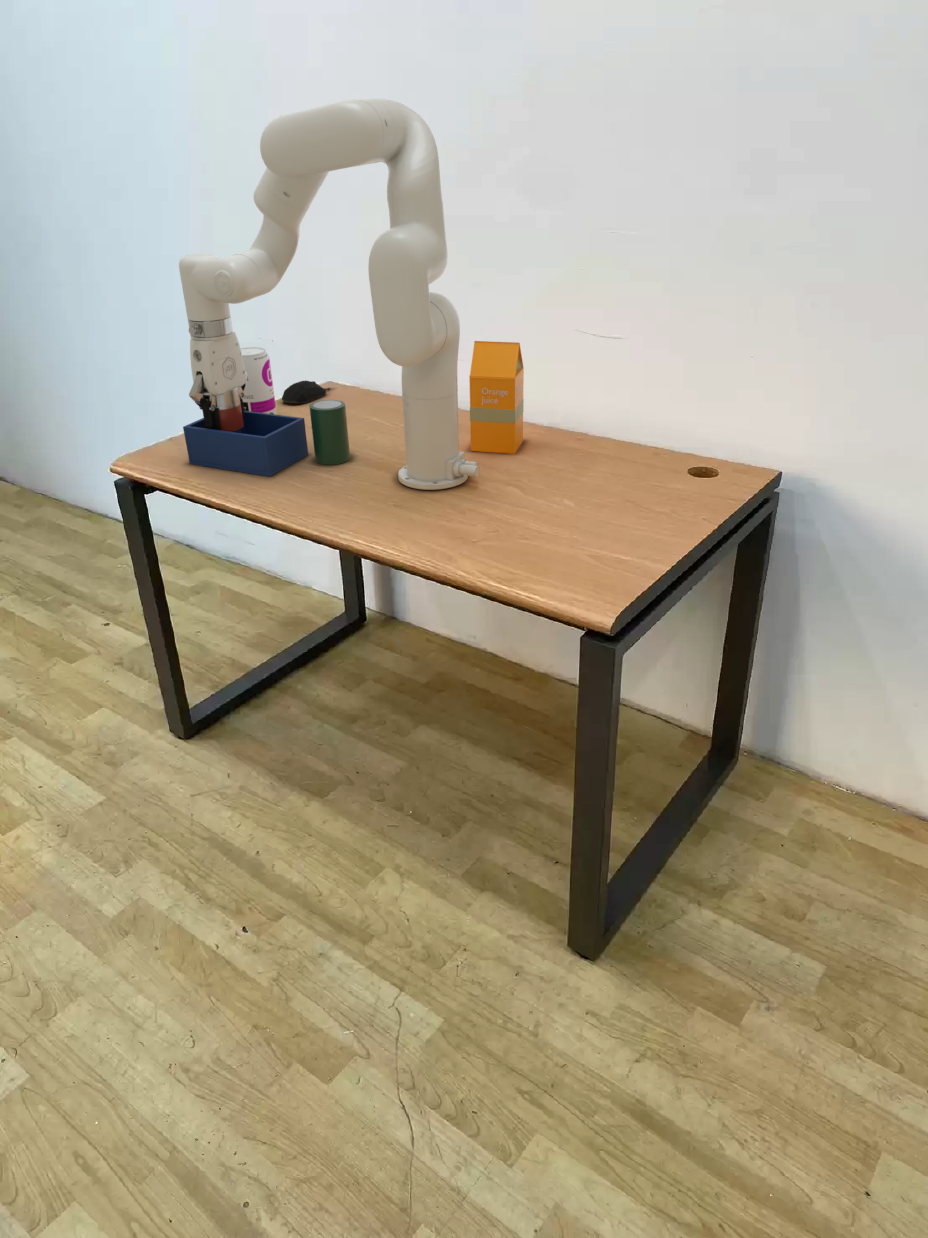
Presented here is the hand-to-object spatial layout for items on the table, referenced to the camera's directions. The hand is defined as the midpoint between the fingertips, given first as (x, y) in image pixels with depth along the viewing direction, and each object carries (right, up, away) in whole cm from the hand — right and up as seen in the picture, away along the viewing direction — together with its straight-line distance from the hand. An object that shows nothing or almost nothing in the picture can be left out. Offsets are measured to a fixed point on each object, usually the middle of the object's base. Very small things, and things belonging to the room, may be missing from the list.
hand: (225, 423), depth 171 cm
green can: (+20, -7, +1) cm, 21 cm away
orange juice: (+52, -4, +5) cm, 52 cm away
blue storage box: (+4, -7, +2) cm, 8 cm away
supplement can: (+1, +5, +22) cm, 23 cm away
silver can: (0, -3, +2) cm, 3 cm away
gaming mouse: (+9, +14, +38) cm, 41 cm away
